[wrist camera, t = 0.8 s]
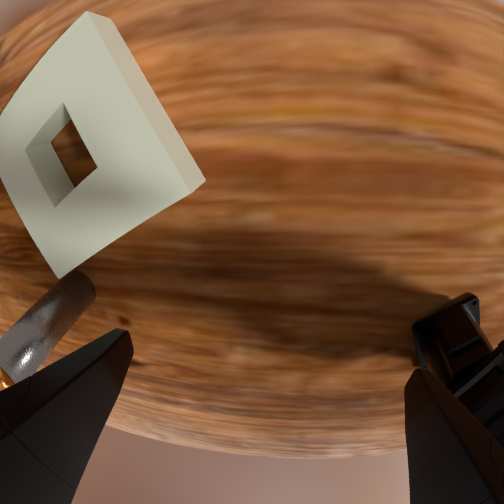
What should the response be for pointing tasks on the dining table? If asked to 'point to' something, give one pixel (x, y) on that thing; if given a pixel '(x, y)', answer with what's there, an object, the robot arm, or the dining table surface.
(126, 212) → the block
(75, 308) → the steel pin
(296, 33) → the dining table surface
